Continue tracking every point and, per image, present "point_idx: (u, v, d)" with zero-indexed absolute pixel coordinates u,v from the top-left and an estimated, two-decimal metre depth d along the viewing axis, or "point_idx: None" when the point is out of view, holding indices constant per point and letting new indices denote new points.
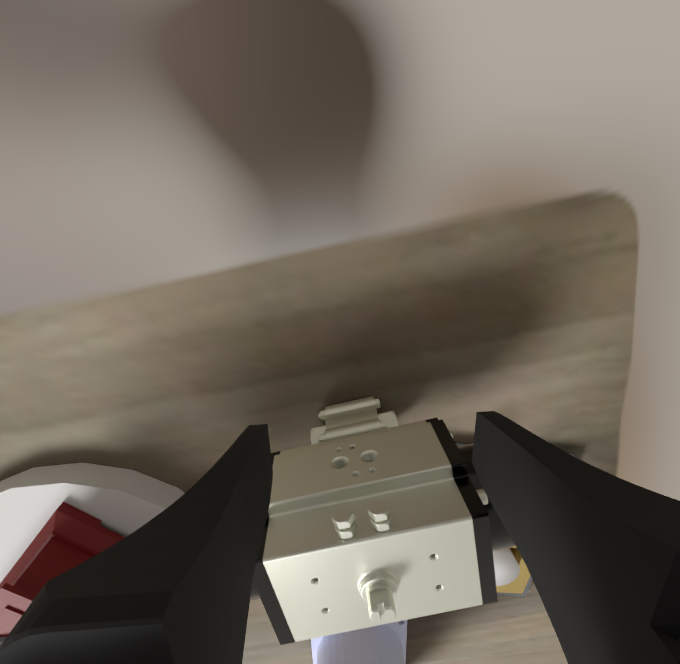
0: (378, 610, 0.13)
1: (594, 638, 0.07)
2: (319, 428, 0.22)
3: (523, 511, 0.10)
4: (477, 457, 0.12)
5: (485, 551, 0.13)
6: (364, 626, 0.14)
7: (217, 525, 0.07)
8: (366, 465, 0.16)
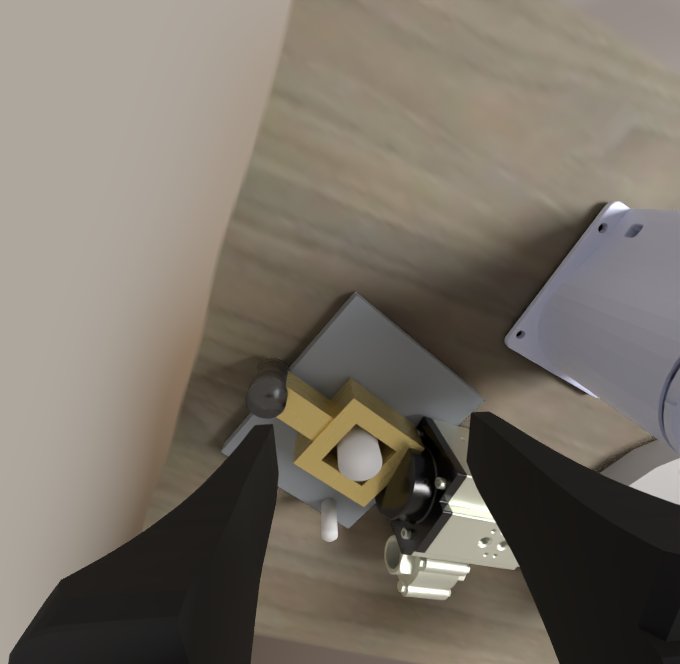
0: None
1: (585, 639, 0.07)
2: (458, 578, 0.24)
3: (516, 511, 0.10)
4: (471, 457, 0.12)
5: (447, 449, 0.20)
6: None
7: (227, 524, 0.07)
8: (493, 536, 0.20)
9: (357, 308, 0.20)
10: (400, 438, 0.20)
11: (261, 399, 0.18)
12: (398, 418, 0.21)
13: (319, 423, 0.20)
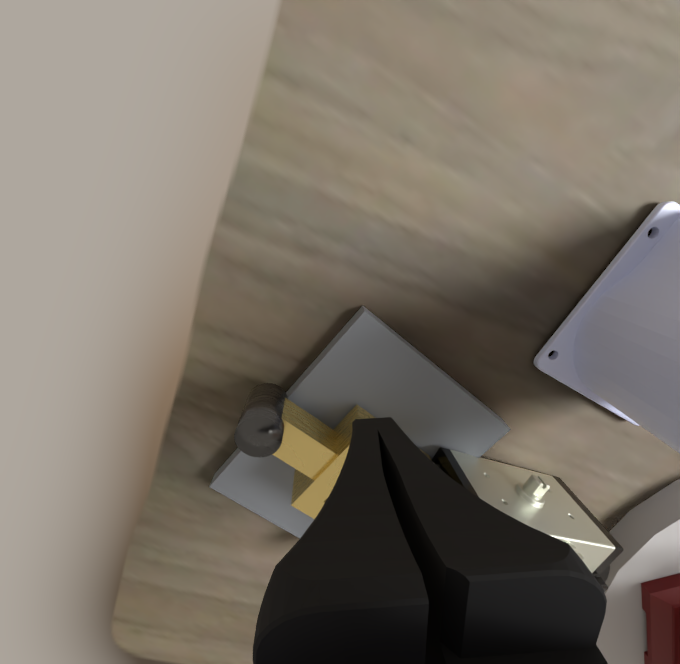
0: (542, 484, 0.18)
1: None
2: None
3: None
4: None
5: (470, 490, 0.17)
6: (518, 468, 0.21)
7: (395, 513, 0.07)
8: None
9: (365, 326, 0.17)
10: None
11: (252, 435, 0.15)
12: None
13: (320, 460, 0.17)
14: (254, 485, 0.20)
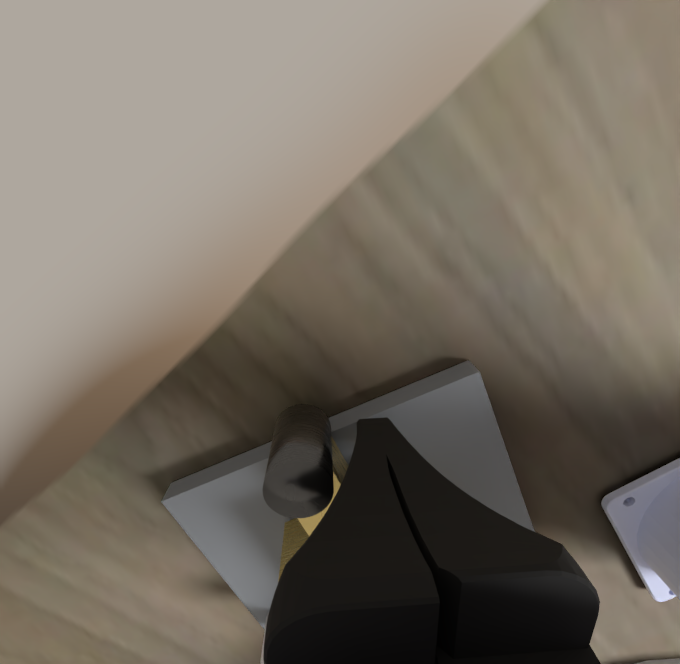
0: None
1: None
2: None
3: None
4: None
5: None
6: None
7: (402, 513, 0.07)
8: None
9: (469, 389, 0.13)
10: None
11: (292, 485, 0.10)
12: None
13: None
14: (221, 520, 0.15)
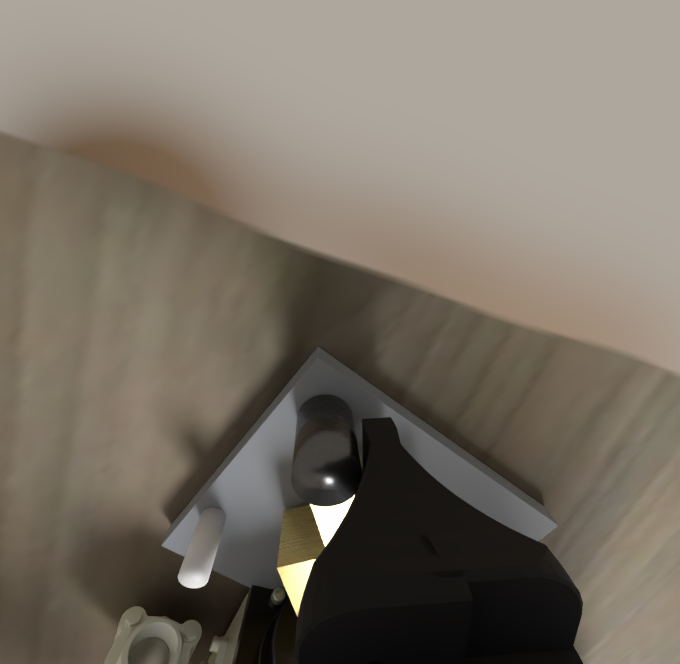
0: None
1: None
2: None
3: None
4: (363, 464, 0.12)
5: None
6: None
7: (425, 511, 0.07)
8: None
9: (541, 527, 0.16)
10: None
11: (322, 472, 0.10)
12: None
13: None
14: None
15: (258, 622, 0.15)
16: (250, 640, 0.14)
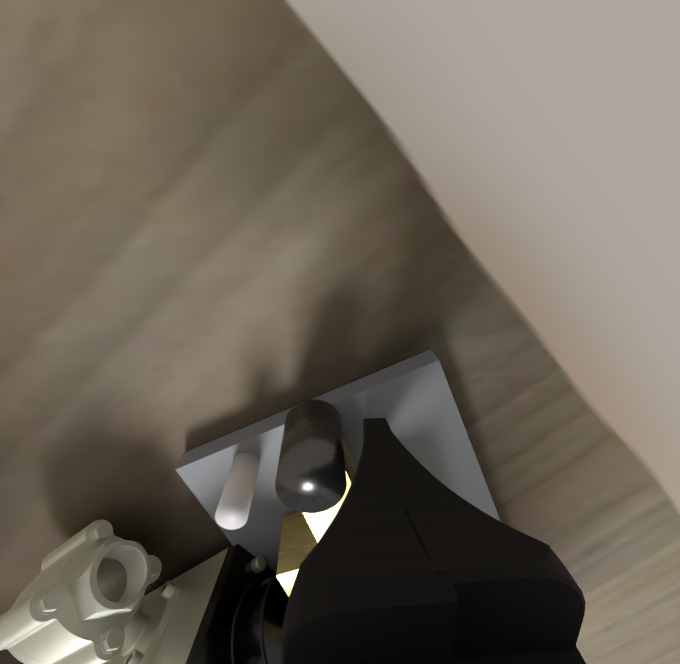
0: None
1: None
2: None
3: None
4: None
5: None
6: None
7: (415, 512, 0.07)
8: None
9: None
10: None
11: (306, 479, 0.10)
12: None
13: None
14: (404, 415, 0.13)
15: (237, 583, 0.14)
16: (228, 599, 0.13)
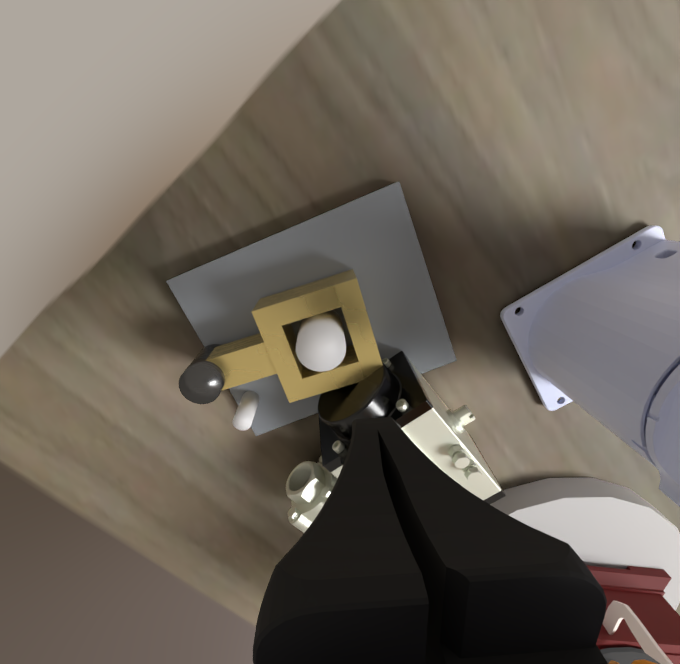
0: (470, 415, 0.21)
1: None
2: None
3: None
4: None
5: (419, 381, 0.19)
6: None
7: (395, 513, 0.07)
8: None
9: (392, 196, 0.18)
10: (327, 294, 0.17)
11: (195, 388, 0.18)
12: (323, 281, 0.18)
13: (263, 356, 0.18)
14: (210, 302, 0.20)
15: None
16: (325, 427, 0.20)
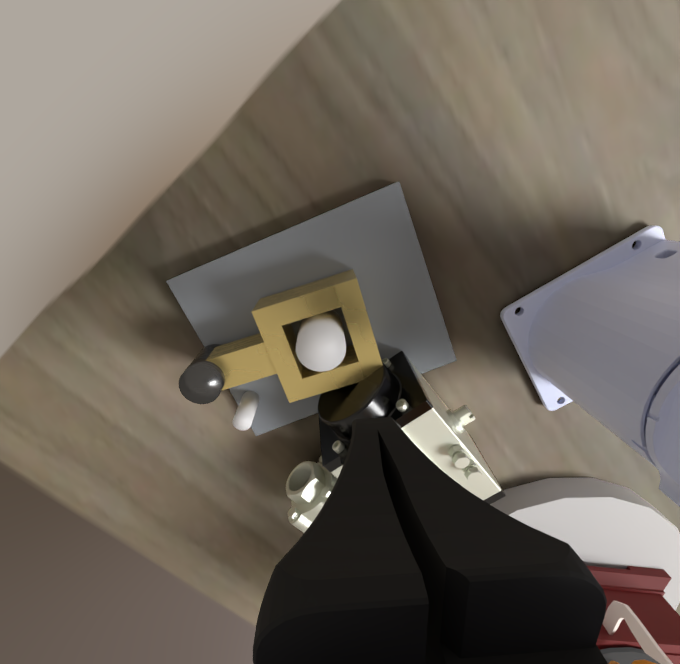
0: (470, 415, 0.21)
1: None
2: None
3: None
4: None
5: (419, 381, 0.19)
6: None
7: (395, 513, 0.07)
8: None
9: (392, 196, 0.18)
10: (327, 294, 0.17)
11: (195, 388, 0.18)
12: (323, 281, 0.18)
13: (263, 356, 0.18)
14: (210, 302, 0.20)
15: None
16: (325, 427, 0.20)
